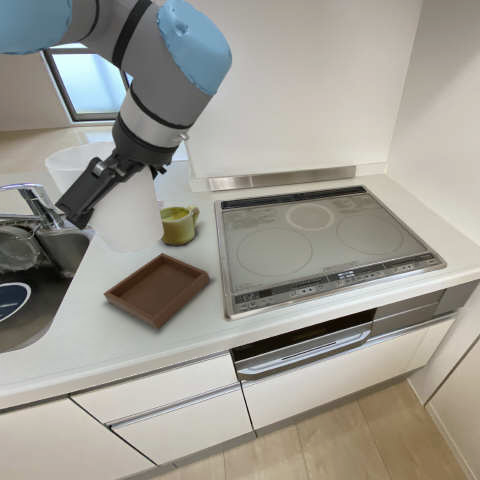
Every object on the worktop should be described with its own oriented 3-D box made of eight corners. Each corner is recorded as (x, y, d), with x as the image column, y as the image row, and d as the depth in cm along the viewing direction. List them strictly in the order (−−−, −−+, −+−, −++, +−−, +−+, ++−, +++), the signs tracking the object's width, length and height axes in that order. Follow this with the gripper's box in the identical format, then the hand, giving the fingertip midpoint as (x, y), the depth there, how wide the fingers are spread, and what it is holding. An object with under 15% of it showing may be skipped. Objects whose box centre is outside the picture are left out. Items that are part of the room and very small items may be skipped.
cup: (101, 270, 45) (38, 179, 34) (96, 232, 53) (44, 148, 42) (180, 244, 51) (148, 160, 40) (166, 213, 59) (136, 136, 48)
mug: (168, 251, 67) (158, 213, 64) (155, 244, 74) (145, 209, 70) (213, 238, 75) (206, 204, 72) (197, 233, 82) (191, 202, 79)
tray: (109, 302, 56) (102, 293, 54) (166, 261, 67) (162, 252, 65) (158, 329, 52) (152, 320, 50) (210, 281, 63) (207, 272, 61)
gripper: (96, 188, 27) (63, 261, 39) (222, 125, 46) (174, 188, 58) (22, 129, 25) (11, 226, 37) (187, 88, 44) (144, 161, 55)
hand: (111, 203), depth 47 cm, fingers closed on cup, 13 cm apart
